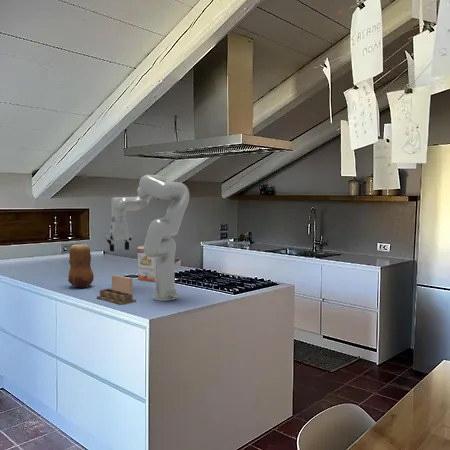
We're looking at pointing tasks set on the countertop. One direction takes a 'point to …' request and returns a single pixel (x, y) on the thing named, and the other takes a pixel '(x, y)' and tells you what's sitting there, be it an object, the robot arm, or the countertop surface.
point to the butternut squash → (80, 266)
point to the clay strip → (122, 283)
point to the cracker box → (146, 266)
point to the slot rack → (116, 296)
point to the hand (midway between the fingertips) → (119, 250)
